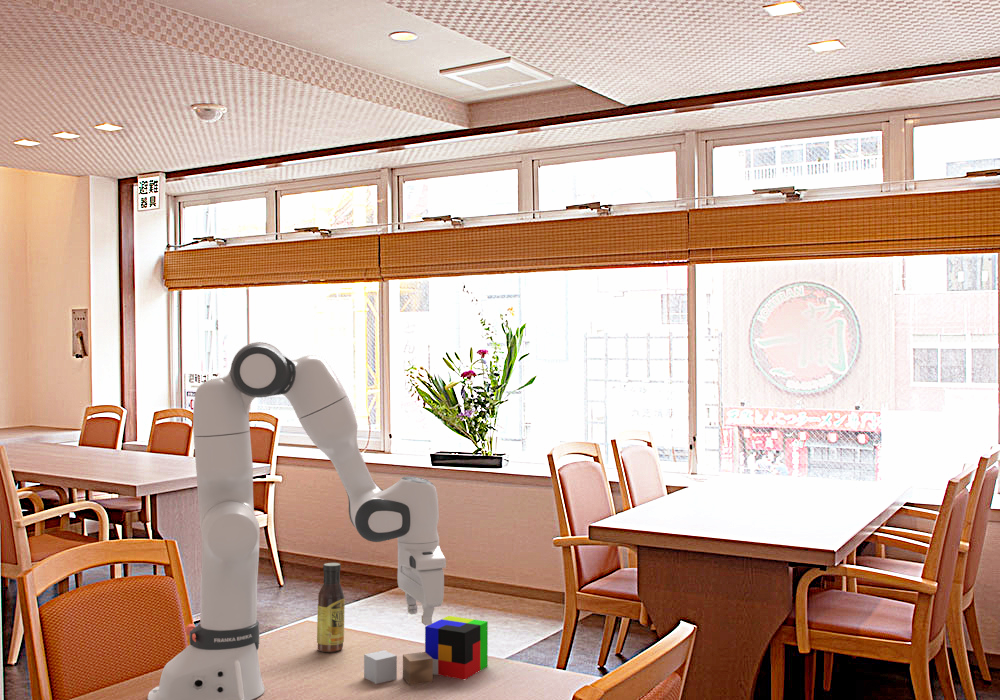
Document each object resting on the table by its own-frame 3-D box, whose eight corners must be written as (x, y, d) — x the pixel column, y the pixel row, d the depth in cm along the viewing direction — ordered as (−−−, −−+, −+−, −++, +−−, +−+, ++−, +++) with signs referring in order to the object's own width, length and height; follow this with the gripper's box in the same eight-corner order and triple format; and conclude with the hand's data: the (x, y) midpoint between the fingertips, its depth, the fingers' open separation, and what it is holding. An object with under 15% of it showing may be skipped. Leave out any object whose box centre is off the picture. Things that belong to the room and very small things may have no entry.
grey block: (376, 684, 198) (376, 660, 198) (364, 678, 202) (364, 654, 202) (396, 679, 202) (396, 655, 202) (384, 673, 205) (384, 650, 205)
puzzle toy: (425, 672, 206) (425, 626, 206) (448, 660, 215) (448, 615, 215) (465, 680, 201) (465, 632, 201) (487, 666, 210) (487, 621, 210)
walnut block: (410, 685, 198) (410, 661, 198) (402, 677, 202) (402, 654, 202) (432, 682, 200) (432, 658, 200) (424, 674, 204) (425, 651, 204)
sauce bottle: (335, 654, 218) (335, 568, 218) (311, 651, 220) (312, 566, 220) (349, 646, 224) (349, 562, 224) (326, 644, 226) (326, 560, 226)
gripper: (390, 546, 210) (390, 608, 210) (419, 564, 191) (420, 633, 191) (417, 543, 212) (418, 605, 212) (449, 561, 193) (449, 629, 193)
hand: (419, 618), depth 201 cm, fingers open, 8 cm apart
